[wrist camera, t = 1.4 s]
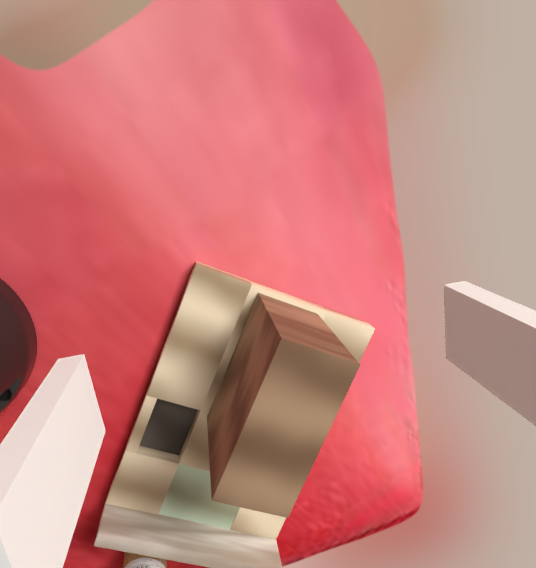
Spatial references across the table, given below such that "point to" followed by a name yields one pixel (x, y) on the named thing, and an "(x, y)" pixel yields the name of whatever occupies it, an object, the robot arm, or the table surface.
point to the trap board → (197, 436)
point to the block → (275, 406)
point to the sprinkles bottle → (142, 561)
